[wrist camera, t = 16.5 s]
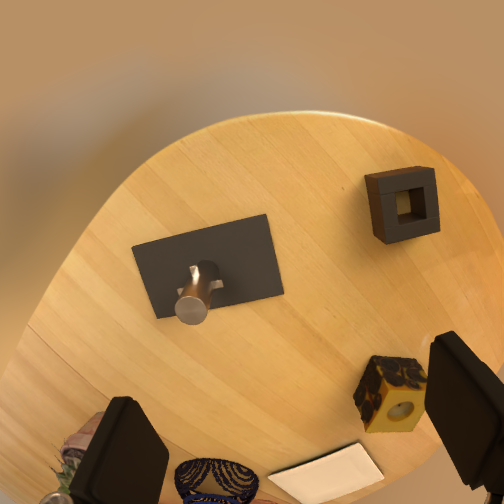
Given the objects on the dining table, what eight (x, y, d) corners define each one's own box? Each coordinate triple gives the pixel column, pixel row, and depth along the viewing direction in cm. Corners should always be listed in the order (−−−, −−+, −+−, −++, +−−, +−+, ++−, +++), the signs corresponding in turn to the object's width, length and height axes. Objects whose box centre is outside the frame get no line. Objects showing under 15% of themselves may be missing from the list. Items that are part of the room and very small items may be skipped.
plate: (383, 473, 63) (385, 478, 61) (306, 502, 67) (307, 507, 65) (357, 436, 57) (359, 443, 55) (266, 470, 61) (266, 477, 59)
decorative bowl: (160, 474, 63) (148, 518, 49) (209, 448, 58) (202, 502, 45) (220, 502, 67) (216, 544, 53) (274, 480, 62) (276, 528, 49)
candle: (395, 398, 54) (412, 432, 44) (351, 396, 54) (363, 435, 44) (417, 357, 51) (439, 390, 41) (371, 353, 50) (389, 390, 41)
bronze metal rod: (180, 256, 45) (156, 291, 34) (221, 247, 45) (209, 280, 33) (192, 294, 47) (174, 338, 35) (232, 286, 46) (224, 329, 35)
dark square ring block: (364, 175, 42) (376, 178, 37) (417, 165, 41) (434, 168, 36) (373, 235, 44) (386, 244, 40) (424, 223, 44) (440, 231, 39)
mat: (132, 246, 45) (131, 247, 45) (265, 213, 44) (265, 214, 43) (158, 317, 49) (157, 319, 48) (283, 292, 47) (284, 294, 47)
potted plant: (108, 382, 54) (56, 480, 30) (168, 443, 59) (144, 538, 35) (59, 400, 56) (10, 478, 33) (114, 454, 61) (84, 532, 38)
